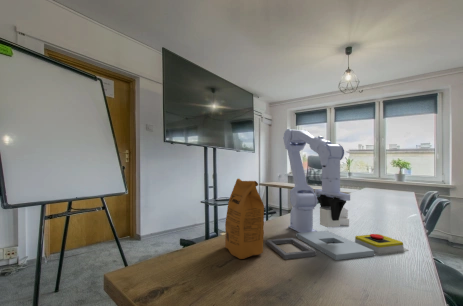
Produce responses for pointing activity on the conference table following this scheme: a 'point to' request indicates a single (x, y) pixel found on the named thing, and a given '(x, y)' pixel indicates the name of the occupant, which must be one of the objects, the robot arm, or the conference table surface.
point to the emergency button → (380, 243)
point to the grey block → (327, 218)
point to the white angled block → (344, 217)
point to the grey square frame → (305, 253)
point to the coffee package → (244, 220)
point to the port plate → (335, 245)
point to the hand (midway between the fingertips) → (330, 218)
